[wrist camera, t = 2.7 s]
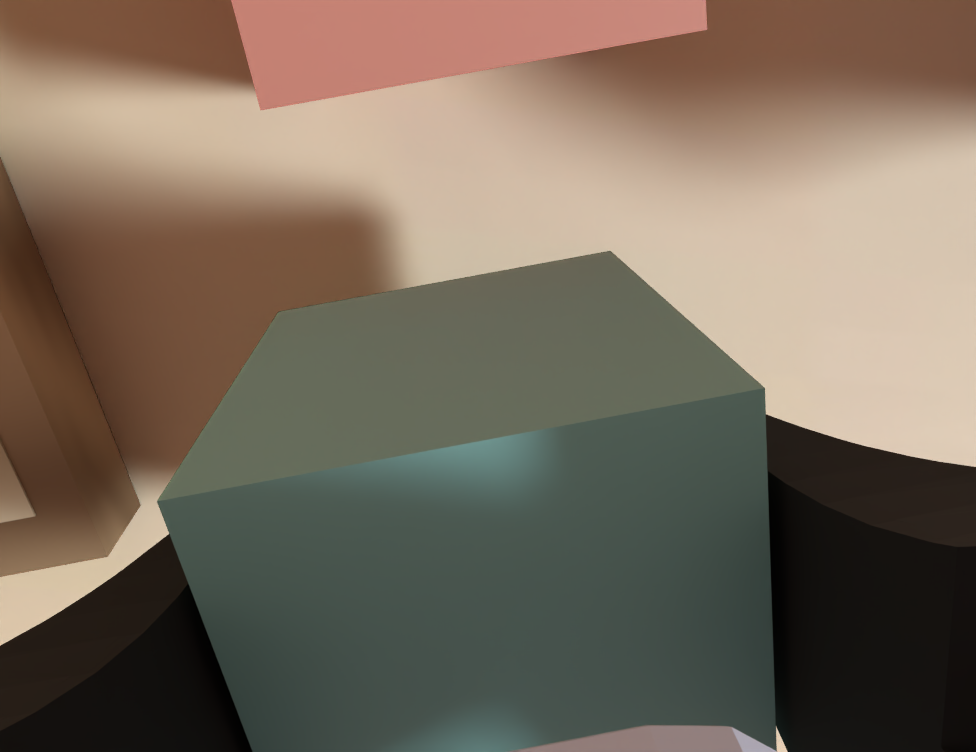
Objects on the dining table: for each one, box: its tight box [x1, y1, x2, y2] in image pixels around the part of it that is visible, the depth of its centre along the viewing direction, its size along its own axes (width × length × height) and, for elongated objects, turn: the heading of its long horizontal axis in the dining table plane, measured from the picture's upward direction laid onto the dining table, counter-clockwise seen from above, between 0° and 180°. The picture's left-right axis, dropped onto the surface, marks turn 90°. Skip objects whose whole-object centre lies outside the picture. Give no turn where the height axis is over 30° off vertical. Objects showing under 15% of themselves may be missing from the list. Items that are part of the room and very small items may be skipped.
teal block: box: [157, 251, 777, 752], centre depth 11 cm, size 6×6×6 cm
